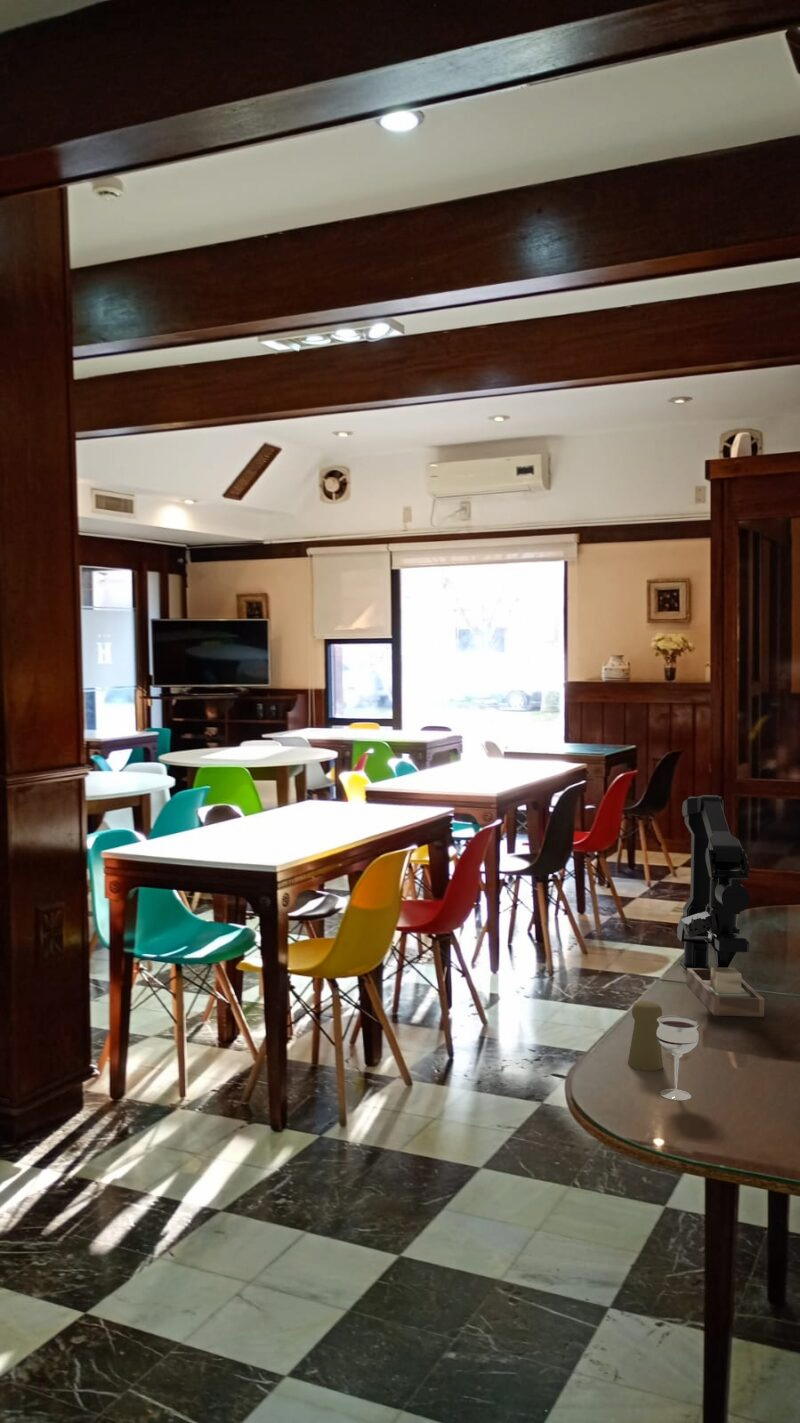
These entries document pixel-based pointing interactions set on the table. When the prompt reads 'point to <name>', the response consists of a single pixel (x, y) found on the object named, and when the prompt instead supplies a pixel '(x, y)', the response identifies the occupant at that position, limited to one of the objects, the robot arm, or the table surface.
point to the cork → (645, 1037)
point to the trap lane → (724, 996)
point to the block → (725, 980)
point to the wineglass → (677, 1045)
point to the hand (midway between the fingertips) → (720, 974)
